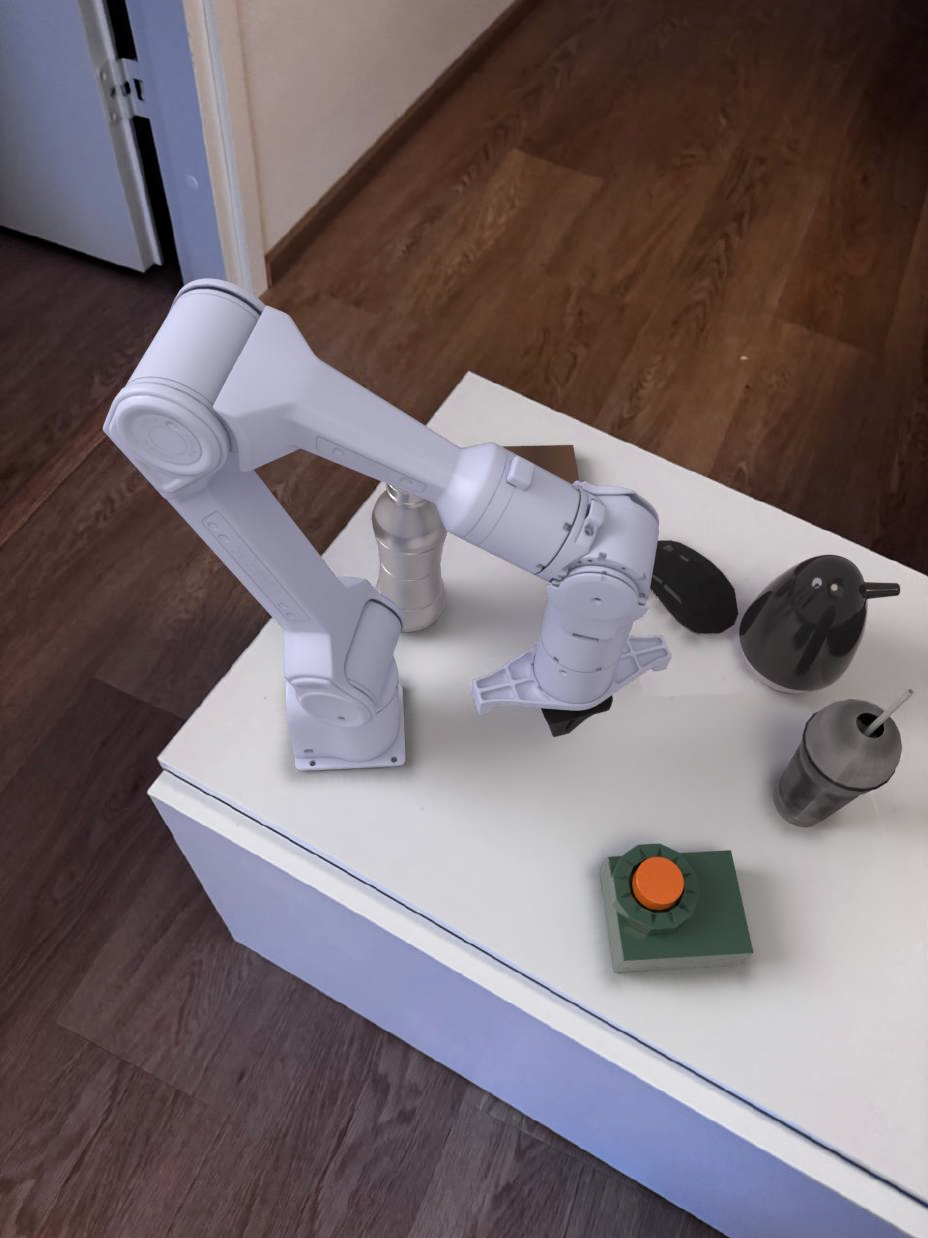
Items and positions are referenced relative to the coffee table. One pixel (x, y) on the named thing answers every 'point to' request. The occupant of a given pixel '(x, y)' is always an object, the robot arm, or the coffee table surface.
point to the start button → (657, 883)
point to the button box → (676, 914)
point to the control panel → (550, 459)
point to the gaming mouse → (693, 589)
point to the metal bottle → (410, 555)
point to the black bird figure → (808, 624)
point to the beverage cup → (839, 760)
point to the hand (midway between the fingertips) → (557, 724)
